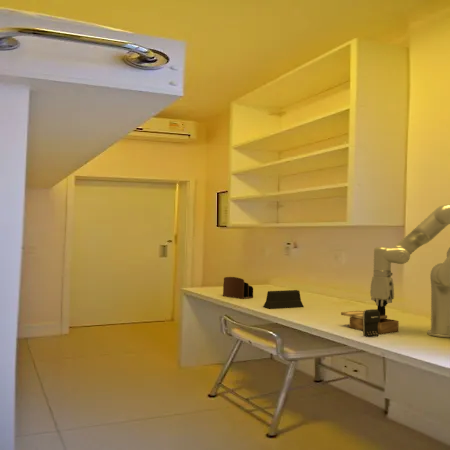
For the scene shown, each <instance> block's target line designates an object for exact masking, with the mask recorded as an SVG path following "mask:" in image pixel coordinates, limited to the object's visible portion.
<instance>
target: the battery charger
mask: <svg viewBox="0 0 450 450" xmlns="http://www.w3.org/2000/svg"><path fill="white" fill-rule="evenodd" d="M375 309H376V308H373V309H372V308H371V309H364V310H363V311H364V312H363V331H362V335H363V337H369V338H370V337H378V336H379V333H378V322H380V312H379V311H378V310H375Z"/></svg>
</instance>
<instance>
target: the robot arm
mask: <svg viewBox="0 0 450 450" xmlns="http://www.w3.org/2000/svg"><path fill="white" fill-rule="evenodd" d="M449 225H450V204H444V205H440V206H438V207H437V208H436V209H434V211H432V212H431V213H430V214H429V215H428V216H427V217H426V218H424V220H423V221H421V222H420V224H418V225H417V226H416V227H415V228H413V230H411V232H410V233H408V234H407V235H406V236H405V237H404V238H403V239H401V240H400V241H399V242H398V243H397V244H396V245H394V246H393V247H389V246H386V247H385V246H376V247H375V248H374V249H373V273H372V274H373V276H372V278H371V283H370V292H369V293H370V297H371V299H370V300H371V301H372V302H375V304H376V306H377V308H376V309H377V310H378V311H379V312H380V315H386V307H387V305H388V304H391V303H393V300H394V299H395V287H394V285H395V284H394V280H393V277H392V276H393V275H394V274H393V272H392V264H396V265H404V264H406V263H408V262H409V260H410V258H411V255H412V254H413V253H414V252H415V251H416V250H418V249H419V248H420V247H422V246H424V245H426V244H428V243H429V242H431V241H432V240H433V239H434V238H435V237H436V236H438V235H439V234H440V233H441V232H442V231H443V230H444V229H445V228H446V227H447V226H449ZM429 275H430V277H429V278H430V290H431V291H430V293H431V295H430V299H431V300H430V308H431V309H430V329H427V332H426V334H427V335H429V336H431V337H437V338H438V337H439V338H449V339H450V247H448V249H447V251H446V259H444V261H443V262H442V263H441V262H440V263H437V264H435V265H434V266H433V267H432V269H431V270H430V274H429Z"/></svg>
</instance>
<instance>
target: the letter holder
mask: <svg viewBox="0 0 450 450" xmlns="http://www.w3.org/2000/svg"><path fill="white" fill-rule="evenodd" d="M222 297H226V298H232V299H238V300H239V299H240V300H246V299H247V300H249V299H254V287H253V286H252V285H249V283H248V282H245V279H244V278H241V277H240V278H239V277H236V276H225V277H224V278H223V288H222Z"/></svg>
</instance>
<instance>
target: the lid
mask: <svg viewBox="0 0 450 450" xmlns="http://www.w3.org/2000/svg"><path fill="white" fill-rule="evenodd" d="M374 309H375V310H377V308H374ZM363 312H364V310H352V311H342V312H340V316H344V317H345V316H346V317H349V318H350V317H354V318H359V319H363ZM384 318H386V319H388V315H386V314H385V315H380V319H384Z"/></svg>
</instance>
